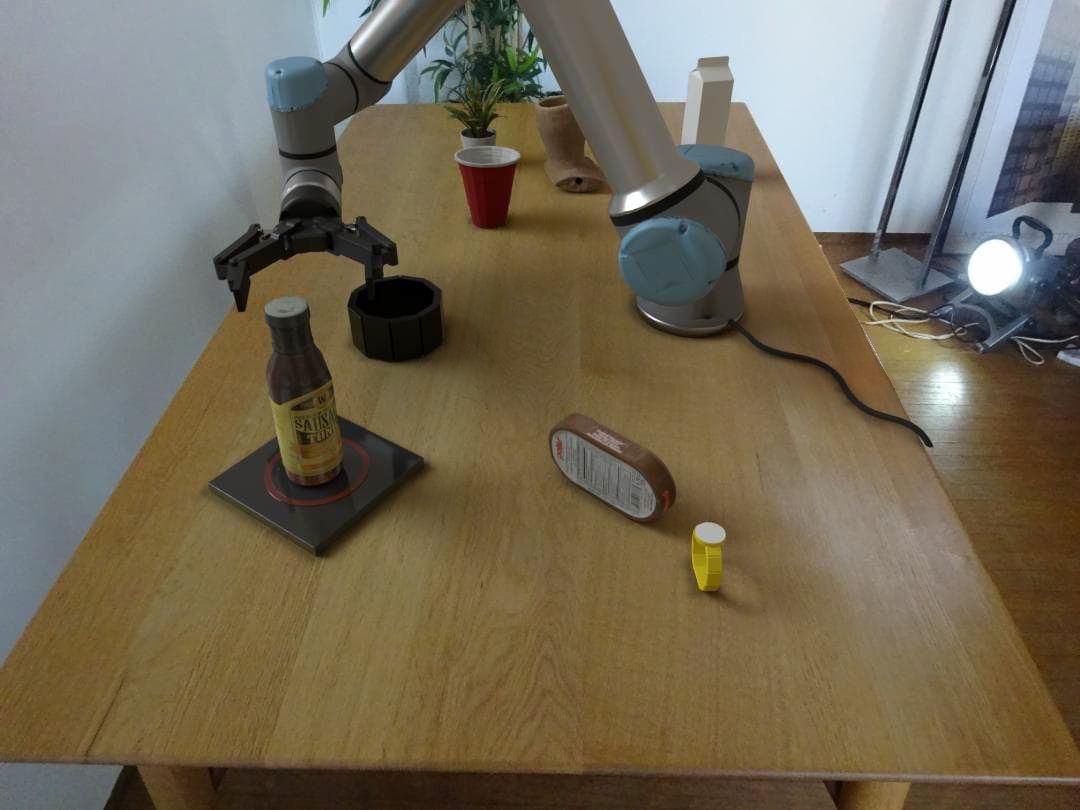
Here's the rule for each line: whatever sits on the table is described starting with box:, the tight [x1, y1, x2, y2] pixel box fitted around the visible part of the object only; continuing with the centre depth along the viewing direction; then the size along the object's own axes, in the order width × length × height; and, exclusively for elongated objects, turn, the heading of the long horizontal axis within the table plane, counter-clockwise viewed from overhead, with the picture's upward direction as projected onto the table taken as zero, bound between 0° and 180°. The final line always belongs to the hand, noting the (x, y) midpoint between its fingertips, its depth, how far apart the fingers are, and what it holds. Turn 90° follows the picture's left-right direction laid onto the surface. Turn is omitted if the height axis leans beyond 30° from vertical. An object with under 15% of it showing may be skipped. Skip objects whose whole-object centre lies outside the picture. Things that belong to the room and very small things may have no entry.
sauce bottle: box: [263, 296, 343, 486], centre depth 80 cm, size 7×6×20 cm
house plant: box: [436, 76, 508, 149], centre depth 155 cm, size 14×14×16 cm
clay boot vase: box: [534, 94, 607, 193], centre depth 148 cm, size 15×12×15 cm
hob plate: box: [207, 414, 425, 557], centre depth 87 cm, size 16×16×1 cm
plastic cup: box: [454, 145, 521, 230], centre depth 135 cm, size 11×11×12 cm
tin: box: [548, 412, 677, 523], centre depth 82 cm, size 15×3×8 cm, turn 48°
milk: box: [680, 55, 735, 147], centre depth 147 cm, size 6×6×22 cm
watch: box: [691, 521, 727, 592], centre depth 75 cm, size 6×3×6 cm, turn 3°
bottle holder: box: [346, 274, 446, 363], centre depth 108 cm, size 12×12×6 cm
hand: (305, 295), depth 86 cm, fingers open, 13 cm apart
